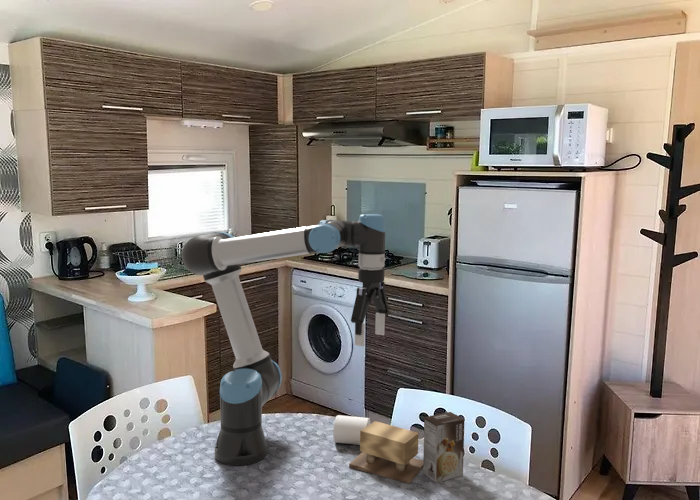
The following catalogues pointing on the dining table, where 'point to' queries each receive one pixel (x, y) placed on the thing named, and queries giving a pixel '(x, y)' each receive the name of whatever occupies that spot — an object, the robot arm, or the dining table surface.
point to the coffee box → (443, 446)
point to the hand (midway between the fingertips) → (370, 339)
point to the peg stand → (387, 467)
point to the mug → (349, 429)
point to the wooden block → (389, 442)
